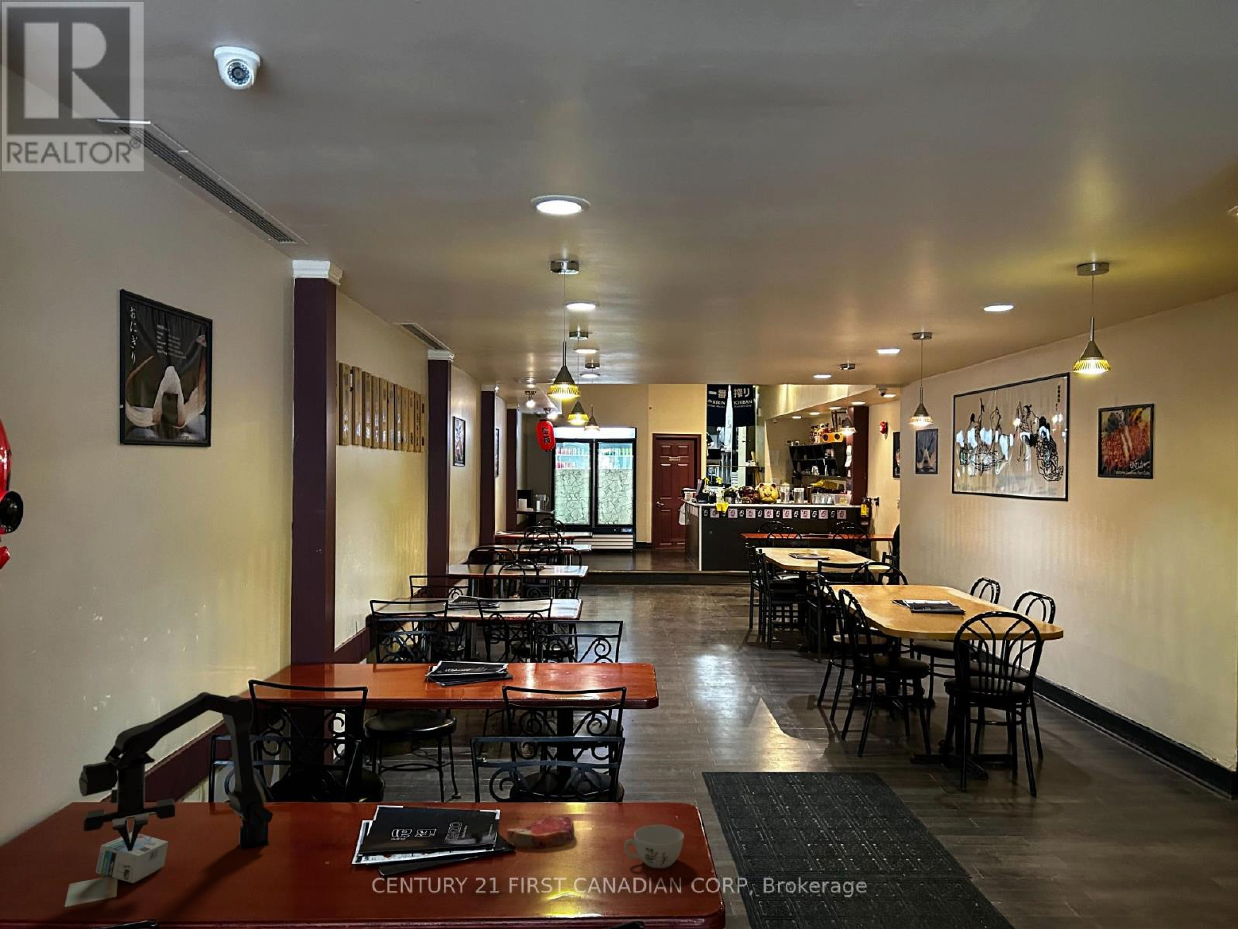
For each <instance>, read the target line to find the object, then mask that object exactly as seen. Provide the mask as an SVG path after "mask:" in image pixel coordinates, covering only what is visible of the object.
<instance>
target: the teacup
mask: <svg viewBox="0 0 1238 929" xmlns="http://www.w3.org/2000/svg"><path fill="white" fill-rule="evenodd" d="M684 838H685V835H684V833H683V832H682V831H681V830H680V829H678V828H676V827H673V826H670V825H666V824H650V825H645V826H642V827H639V828H638V829H636V830H635V832H634V833H633V839H632V838H628V839H626V840H625V842H624V844H623V845H624V846H623V850H624V852H625V854H626V855H627V856H629V857H631V858H636V859H637V858H638V859H640V860H641V861H642V862H643V863H644V864H645V865H647V867H650V868H653V869H666V868H668V867H671V866H672V865H673V864H674V863H675V862H676V861H677V859H678V858H679V855H680V853H681V851H682V848H683V843H684ZM630 844H632V845H633V847H634V849H635V850H636V852H637V854H635V853H632V852H630V851H629V850H628V845H630Z"/></svg>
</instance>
